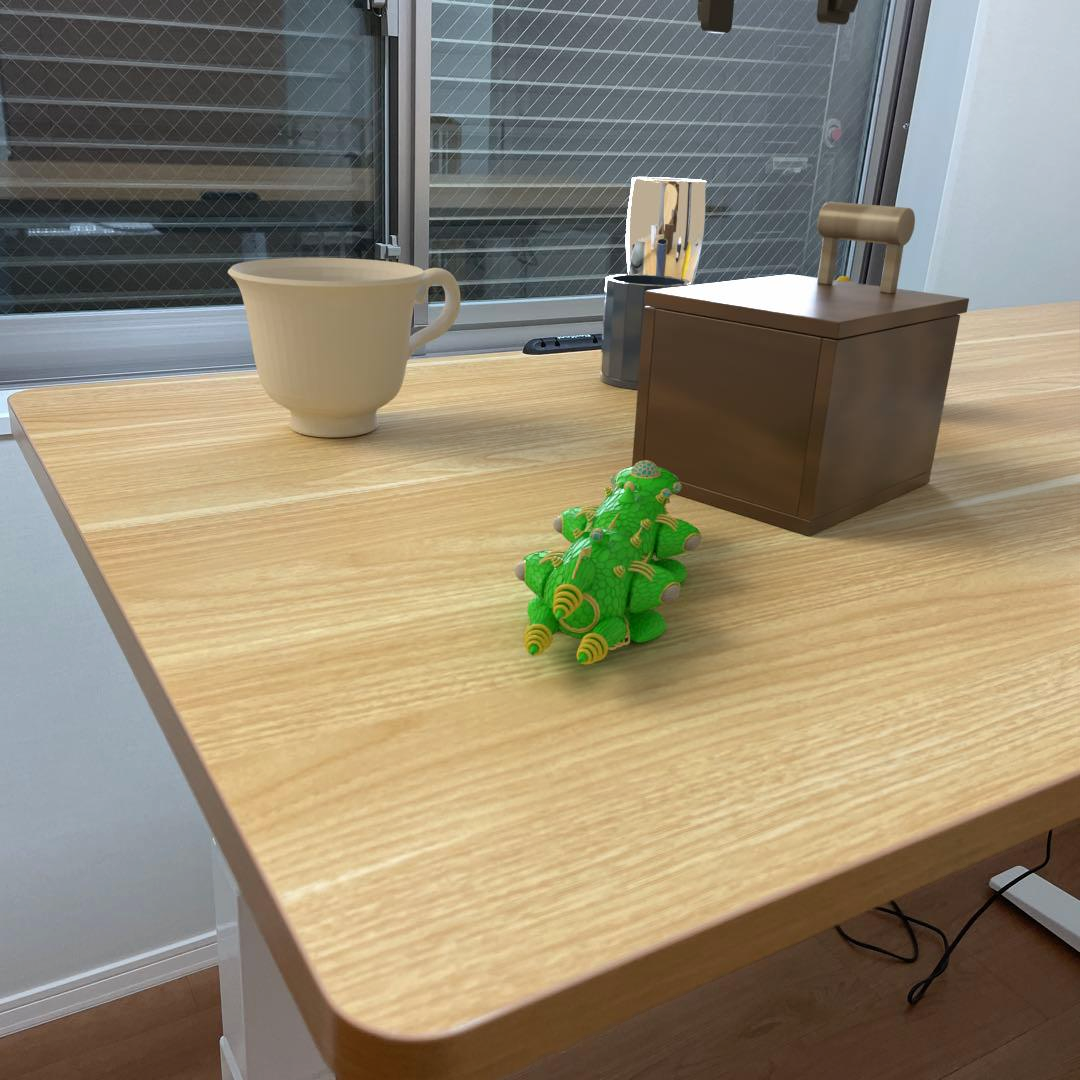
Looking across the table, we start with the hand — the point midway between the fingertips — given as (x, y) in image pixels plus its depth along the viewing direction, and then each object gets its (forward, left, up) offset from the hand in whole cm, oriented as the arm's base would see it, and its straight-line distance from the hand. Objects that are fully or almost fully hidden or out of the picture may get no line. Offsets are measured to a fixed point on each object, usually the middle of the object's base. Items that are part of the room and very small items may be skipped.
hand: (770, 28), depth 61 cm
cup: (-7, -13, -25) cm, 29 cm away
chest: (+7, +9, -25) cm, 27 cm away
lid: (+7, +9, -15) cm, 18 cm away
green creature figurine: (+27, +13, -25) cm, 39 cm away
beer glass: (-19, -21, -25) cm, 38 cm away
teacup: (+19, -16, -25) cm, 35 cm away
